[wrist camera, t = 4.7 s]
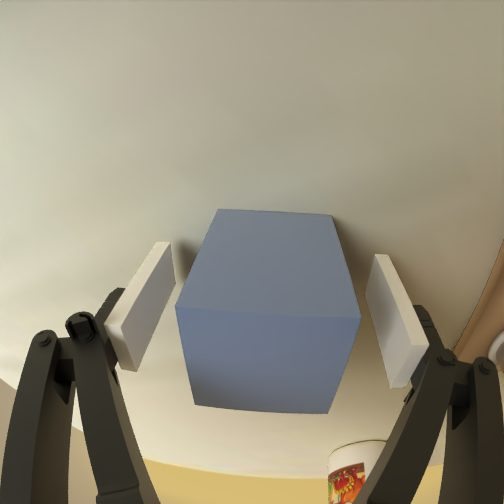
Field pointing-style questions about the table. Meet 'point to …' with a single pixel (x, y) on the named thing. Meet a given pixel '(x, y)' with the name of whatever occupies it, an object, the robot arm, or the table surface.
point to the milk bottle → (351, 469)
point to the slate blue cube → (268, 313)
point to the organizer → (486, 322)
